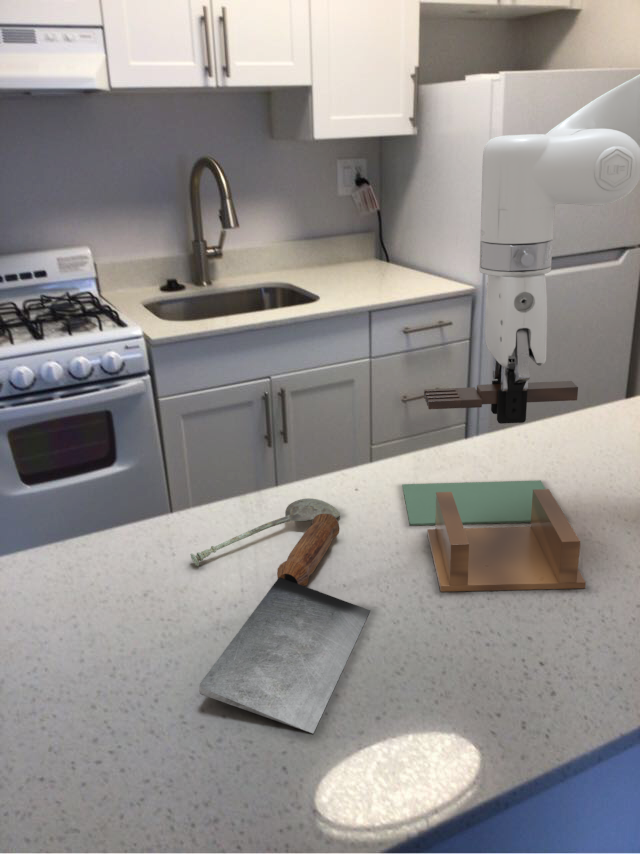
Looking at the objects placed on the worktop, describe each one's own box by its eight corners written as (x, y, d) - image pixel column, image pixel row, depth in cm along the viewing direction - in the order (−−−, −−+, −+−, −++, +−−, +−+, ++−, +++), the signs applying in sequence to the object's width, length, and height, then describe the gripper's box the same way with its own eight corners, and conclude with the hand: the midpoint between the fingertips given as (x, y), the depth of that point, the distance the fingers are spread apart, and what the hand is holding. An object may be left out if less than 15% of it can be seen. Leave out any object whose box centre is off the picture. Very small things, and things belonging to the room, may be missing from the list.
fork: (568, 391, 89) (569, 378, 88) (580, 403, 85) (581, 389, 84) (423, 397, 89) (423, 384, 89) (428, 409, 85) (428, 396, 85)
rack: (553, 531, 96) (557, 488, 94) (585, 588, 84) (590, 541, 82) (427, 534, 97) (427, 492, 94) (440, 591, 84) (441, 544, 82)
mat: (540, 482, 110) (540, 480, 109) (563, 521, 98) (564, 519, 98) (402, 486, 110) (402, 484, 110) (409, 525, 99) (409, 523, 99)
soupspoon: (350, 523, 101) (321, 508, 107) (350, 500, 100) (320, 486, 106) (205, 576, 89) (180, 556, 94) (203, 550, 88) (177, 531, 93)
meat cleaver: (315, 734, 65) (313, 696, 64) (196, 709, 68) (192, 672, 67) (400, 546, 95) (400, 517, 93) (314, 535, 98) (313, 507, 97)
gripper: (573, 268, 74) (560, 442, 80) (531, 245, 89) (523, 394, 95) (496, 271, 74) (489, 445, 81) (467, 248, 89) (463, 396, 96)
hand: (508, 416), depth 88 cm, fingers closed on fork, 2 cm apart
